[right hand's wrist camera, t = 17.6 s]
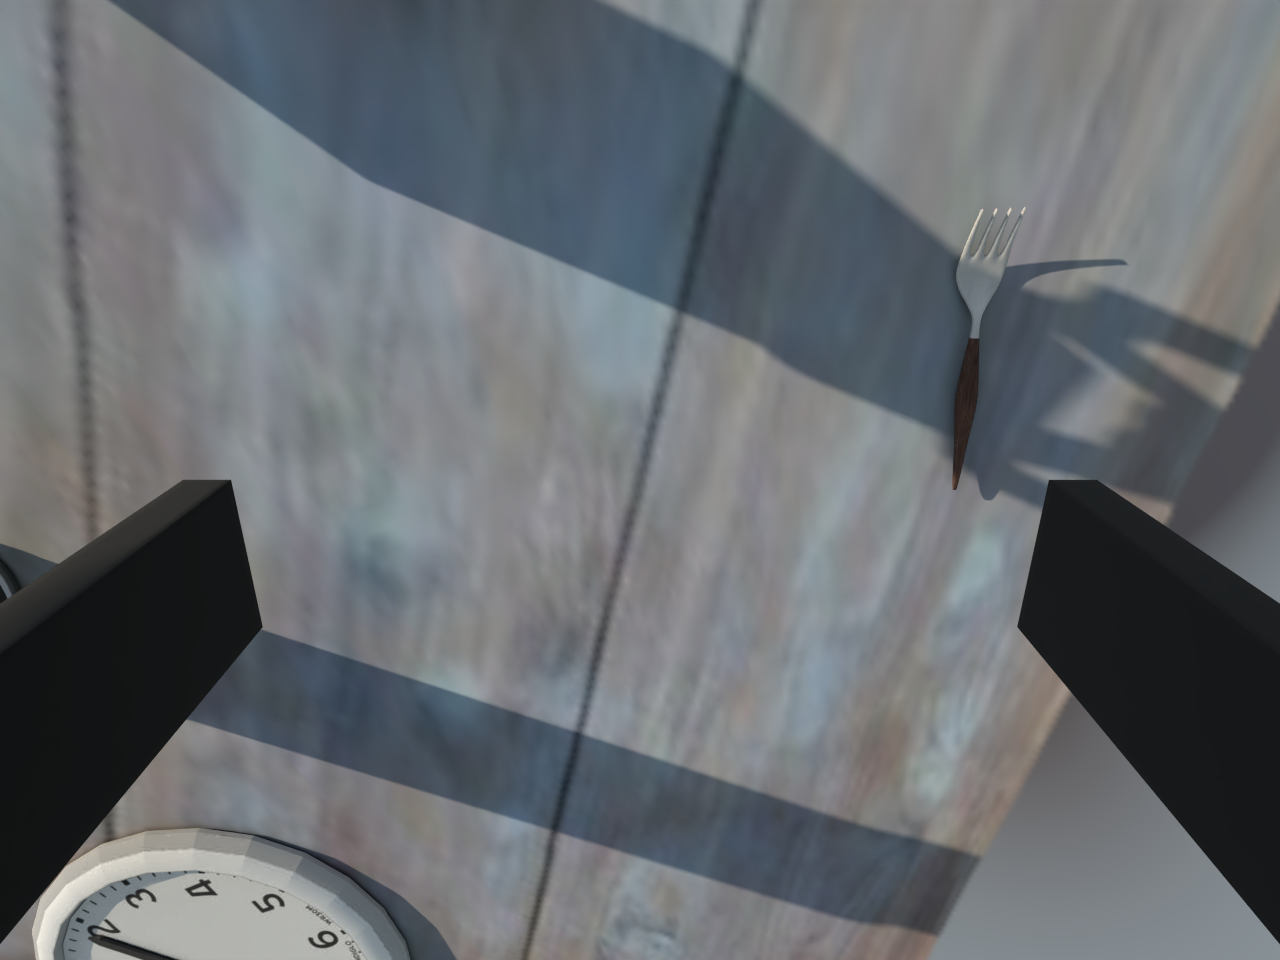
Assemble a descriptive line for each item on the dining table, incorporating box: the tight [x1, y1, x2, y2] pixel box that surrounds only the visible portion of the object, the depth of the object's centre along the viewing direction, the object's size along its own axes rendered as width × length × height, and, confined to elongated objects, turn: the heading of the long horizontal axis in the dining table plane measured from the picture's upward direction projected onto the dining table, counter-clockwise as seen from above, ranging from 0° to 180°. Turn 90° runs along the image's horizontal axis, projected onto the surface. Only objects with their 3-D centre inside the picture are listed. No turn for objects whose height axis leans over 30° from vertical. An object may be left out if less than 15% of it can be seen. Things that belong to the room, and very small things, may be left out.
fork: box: [953, 207, 1026, 490], centre depth 42 cm, size 3×16×2 cm, turn 2°
